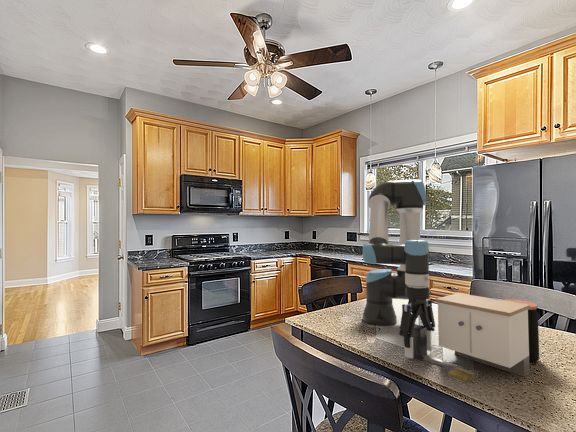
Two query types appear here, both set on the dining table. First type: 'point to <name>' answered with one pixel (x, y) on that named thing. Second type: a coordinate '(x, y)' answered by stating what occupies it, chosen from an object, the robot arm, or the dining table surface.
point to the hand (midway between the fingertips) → (418, 353)
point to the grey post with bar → (421, 350)
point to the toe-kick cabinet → (485, 330)
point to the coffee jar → (531, 330)
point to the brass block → (461, 375)
